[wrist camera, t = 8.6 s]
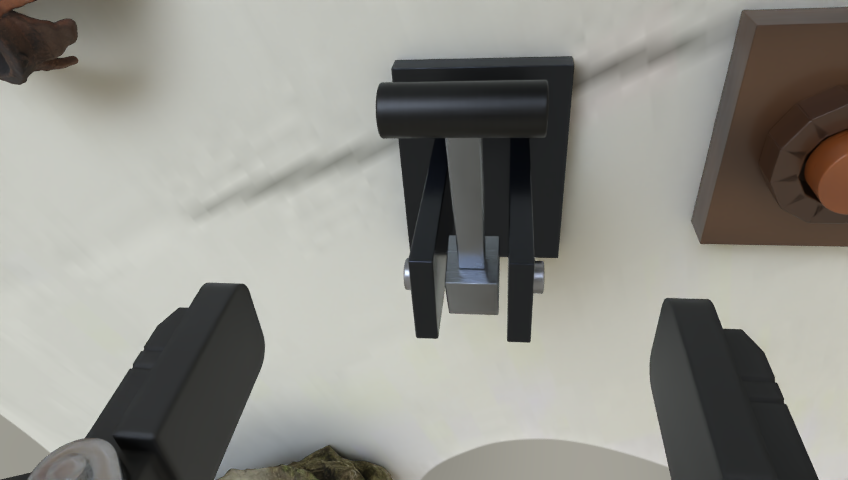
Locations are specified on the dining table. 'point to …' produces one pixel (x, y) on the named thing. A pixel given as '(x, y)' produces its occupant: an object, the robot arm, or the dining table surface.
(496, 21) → the dining table surface
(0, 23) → the brown broken pot shard
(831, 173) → the button
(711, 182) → the button block
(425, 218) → the bracket
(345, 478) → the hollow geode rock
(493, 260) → the lever
